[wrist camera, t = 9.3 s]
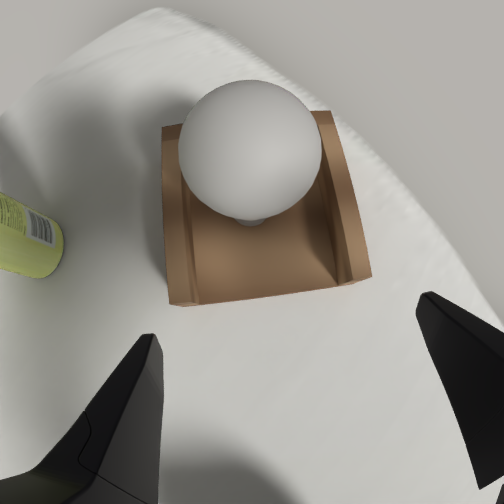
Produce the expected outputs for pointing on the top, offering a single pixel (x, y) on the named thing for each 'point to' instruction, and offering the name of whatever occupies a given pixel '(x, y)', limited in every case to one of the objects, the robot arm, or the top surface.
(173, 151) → the u rest
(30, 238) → the tube
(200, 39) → the top surface
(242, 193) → the lightbulb
